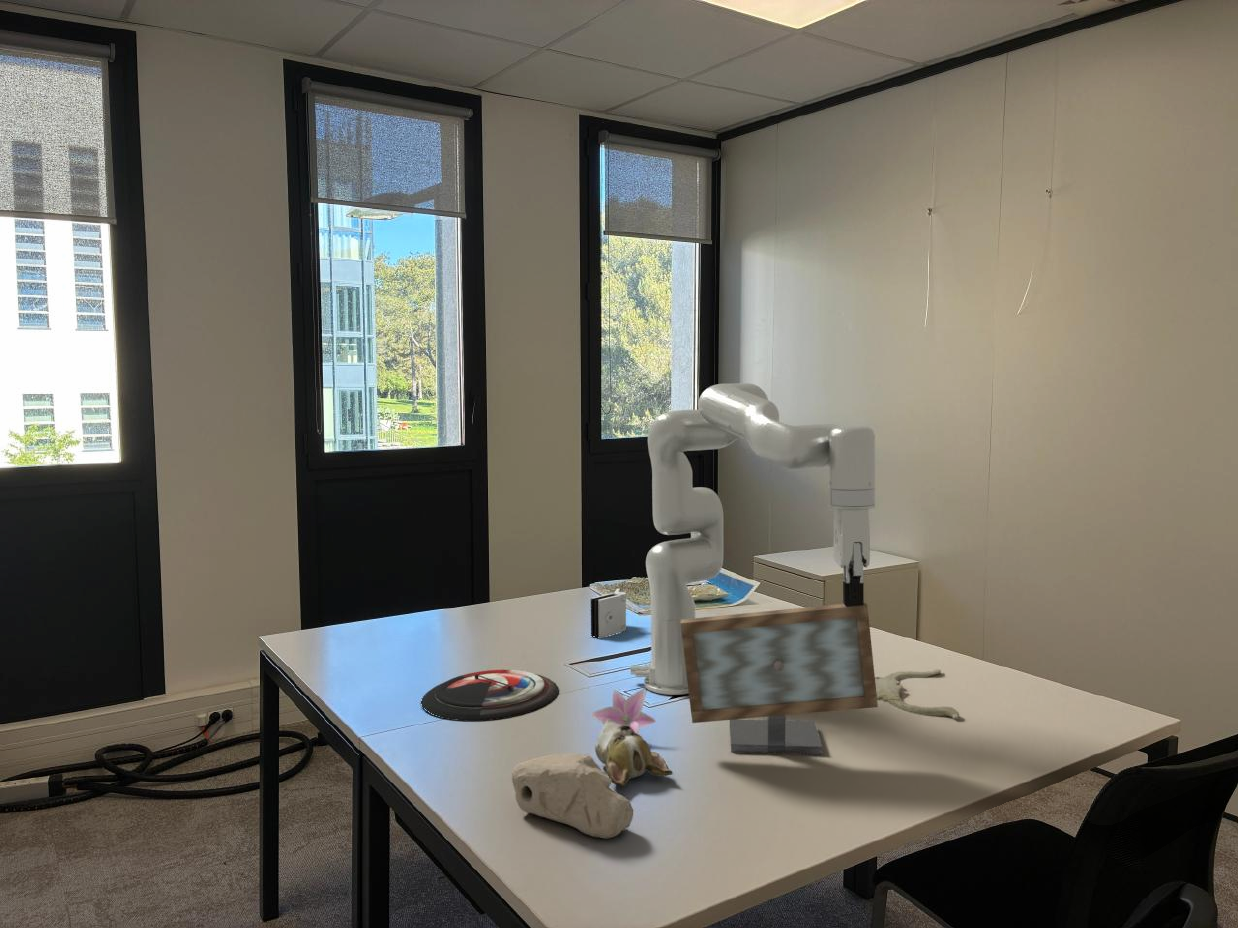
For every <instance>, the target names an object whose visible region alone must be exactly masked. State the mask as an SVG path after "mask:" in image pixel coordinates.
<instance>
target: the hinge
mask: <svg viewBox="0 0 1238 928" xmlns="http://www.w3.org/2000/svg"><path fill="white" fill-rule="evenodd" d="M626 594H627V593H626V592H624V591H623V592H622V591H621V589H620V588H616V589H615V591H614V592H611V593H607V594H603V595H598V596H594V597H591V598H590V637H591V636H592V637H593V636H595V637H593V638H594V639H595V638H597V639H600V638H602V637H605V638H607V637H606V636H609V635H612V636H614V635H613V634H616V633H619V632H622V631H625V630H626V631H627V595H626ZM626 631H625V632H626ZM622 633H623V632H622ZM619 634H620V633H619ZM616 635H617V634H616ZM592 637H591V638H592ZM598 637H599V638H598ZM609 637H610V636H609ZM602 639H603V638H602Z"/></svg>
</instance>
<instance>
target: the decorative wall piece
mask: <svg viewBox="0 0 1238 928" xmlns="http://www.w3.org/2000/svg"><path fill="white" fill-rule="evenodd" d="M941 672H942V670H941V669H934V670H933V671H913V670H912V671H896V672H892V673H890V674H888V675H886V676H883V677H882V676H875V684H876V693H877V701H883V702H886V703H888V704H890V705H892V706H894V707H895V708H898V709H900V710H902V711H905V712H908V713H913V714H915V715H916V714H917V715H923V716H930V717H939V716H940V717H941V716H942V717H943V716H945V717H946V716H948V717H951V718H952V719H954V720H958V719H960V712H959V711H958V710H956V709H955V708H954V707H951V706H931V707H930V706H929V707H925V706H917V705H912V704H909V703H908V702H905V701H904V700H903V699H902V698H901V695H900V694H901V691H902V689H903V686H902V684H901V682H900V681H899V680H903V679H908V678H909V679H910V678H928V677H933V676H935V675H938V674H941Z"/></svg>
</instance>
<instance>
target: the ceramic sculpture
mask: <svg viewBox="0 0 1238 928" xmlns="http://www.w3.org/2000/svg"><path fill="white" fill-rule="evenodd" d="M594 750H595V751H594V752H595V754H596V757H597V759H598V760H599V762H601V764H604V765H605V766H604V768H605V773H606V775H607V776H608V777H609V778H610V779H612V782H611V784H614V785H616V786H618V787H624V786H625V785H626V784H627V783H628V781H630V779H634V778H638V777H640V776H642V775H643V774H644V773H645V772H646V771H647V772H649V773H650V774H652V775H653V776H655V777H665V776H668V777H669V776H672V775H673V774H674V772H673V771H672V770H671V769H669V766H668V764H667V763H666V760H665V759H664V757H662V756H661V755H660V753H658V752H654V751H651V749H650V747H649V745H648V742H647V741H646V740H645V739H643V737H642V736H641V735H640V734H639V735H638V734H636V733H635V732H634V730H633V729H632V728H631V727H630V726H627V725H624V726H622V725H620V724H617V723H615V722H613V721H611V720H610V719H607V720H606V723H605V725H604V724H603V726H602V728H601V730H600V733H599V735H598V738H597V741H596V744H595V745H594Z"/></svg>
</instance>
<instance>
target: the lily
mask: <svg viewBox="0 0 1238 928" xmlns="http://www.w3.org/2000/svg"><path fill="white" fill-rule="evenodd" d="M646 696H647V688H642V689H640V690H638V691H636V692H635V693H633V694H631V695H630V696H628V698H625V697H624V696H623V695H622V694H621V693H620V692H619V691H618V690H616V689H614V690H613V692H612V706H607V707H603V708H599V709H597V710H595V711H594V712H592V713H591V717H592V718H594V719H595V720H597V721H598V722H600V723H601V724H603V726H604V725H605V723H606V720H607V719H610V720H611V721H613V722H615V723H617V724H620V725H622V726H624V725H627V726H630V727H631V728H632V729H633V730H634V732H635V733H636V734H638V735H640V728H644V727H646V726H651V725H653V724H655V723H657V722H656V719H655V718H653V717H652V716H650V715H648V713H644V712H642V711H643V707H644V703H645V699H646Z"/></svg>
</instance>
